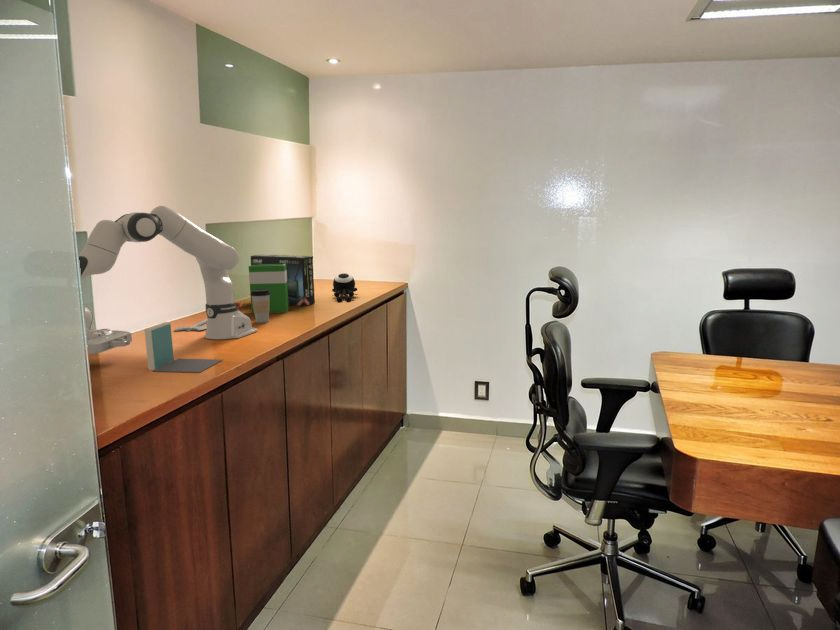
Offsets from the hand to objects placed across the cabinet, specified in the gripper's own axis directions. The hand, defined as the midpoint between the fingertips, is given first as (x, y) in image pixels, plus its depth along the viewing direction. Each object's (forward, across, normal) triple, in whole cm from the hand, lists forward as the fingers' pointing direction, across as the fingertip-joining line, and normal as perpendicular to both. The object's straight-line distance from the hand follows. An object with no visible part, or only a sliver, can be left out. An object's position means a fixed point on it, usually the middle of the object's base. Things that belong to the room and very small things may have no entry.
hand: (127, 343), depth 210 cm
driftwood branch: (-10, +68, +8) cm, 69 cm away
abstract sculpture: (+35, +152, +7) cm, 156 cm away
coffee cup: (+16, +78, +7) cm, 80 cm away
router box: (+6, +130, +7) cm, 130 cm away
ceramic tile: (+12, 0, +8) cm, 14 cm away
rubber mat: (+22, 0, +8) cm, 23 cm away
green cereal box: (+9, +105, +7) cm, 105 cm away
